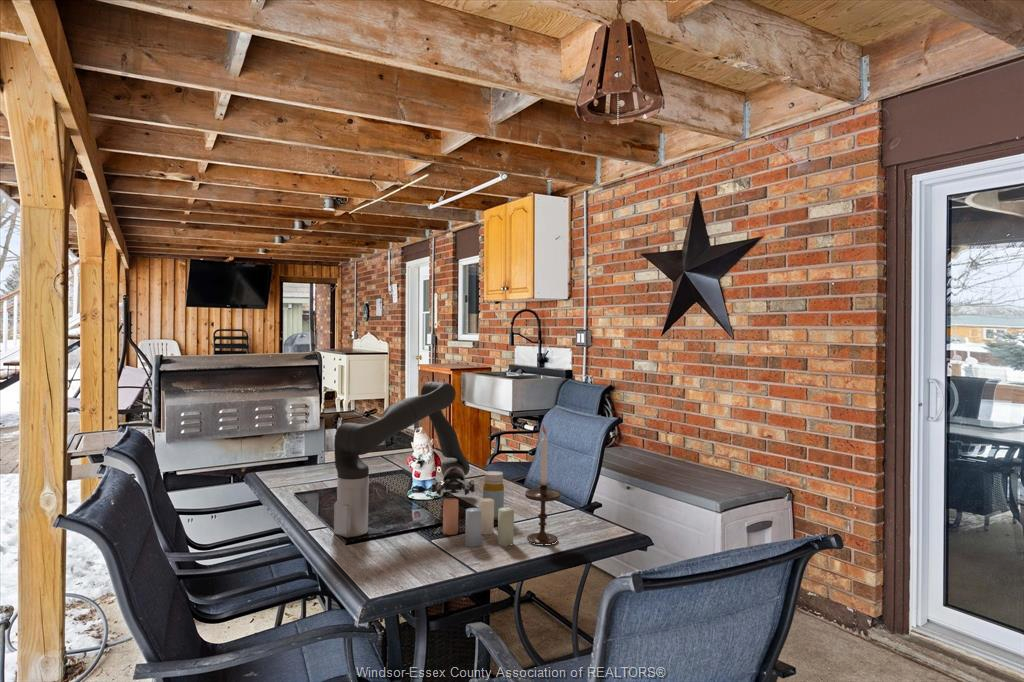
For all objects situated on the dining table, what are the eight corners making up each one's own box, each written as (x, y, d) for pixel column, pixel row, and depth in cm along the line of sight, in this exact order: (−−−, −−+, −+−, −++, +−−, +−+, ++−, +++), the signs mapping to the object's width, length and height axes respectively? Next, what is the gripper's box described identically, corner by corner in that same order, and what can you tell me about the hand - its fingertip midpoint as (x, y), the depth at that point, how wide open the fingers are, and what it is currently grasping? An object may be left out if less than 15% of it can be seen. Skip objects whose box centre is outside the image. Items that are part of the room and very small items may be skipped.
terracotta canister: (450, 535, 187) (451, 503, 186) (439, 532, 189) (440, 500, 189) (460, 532, 190) (461, 499, 190) (449, 529, 193) (450, 497, 193)
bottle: (485, 521, 201) (485, 476, 201) (480, 515, 208) (481, 471, 207) (505, 520, 203) (506, 475, 203) (500, 514, 210) (501, 470, 209)
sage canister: (507, 547, 178) (507, 513, 178) (494, 544, 180) (495, 510, 180) (516, 543, 181) (517, 509, 181) (503, 539, 184) (504, 506, 184)
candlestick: (530, 548, 177) (533, 427, 177) (519, 536, 188) (522, 421, 187) (565, 545, 180) (568, 426, 180) (553, 533, 191) (555, 420, 190)
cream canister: (487, 535, 187) (487, 503, 187) (475, 532, 190) (476, 500, 190) (496, 532, 191) (497, 500, 191) (484, 528, 194) (485, 497, 194)
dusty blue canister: (474, 548, 177) (474, 513, 176) (461, 544, 179) (462, 510, 179) (484, 543, 180) (484, 509, 180) (472, 540, 183) (472, 507, 183)
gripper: (433, 468, 217) (430, 480, 200) (474, 468, 218) (474, 480, 201) (433, 489, 217) (430, 503, 201) (474, 489, 218) (474, 503, 202)
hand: (452, 492), depth 201 cm, fingers open, 8 cm apart
